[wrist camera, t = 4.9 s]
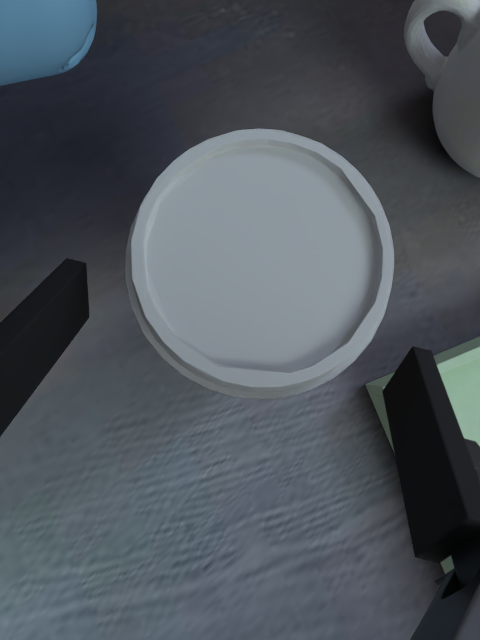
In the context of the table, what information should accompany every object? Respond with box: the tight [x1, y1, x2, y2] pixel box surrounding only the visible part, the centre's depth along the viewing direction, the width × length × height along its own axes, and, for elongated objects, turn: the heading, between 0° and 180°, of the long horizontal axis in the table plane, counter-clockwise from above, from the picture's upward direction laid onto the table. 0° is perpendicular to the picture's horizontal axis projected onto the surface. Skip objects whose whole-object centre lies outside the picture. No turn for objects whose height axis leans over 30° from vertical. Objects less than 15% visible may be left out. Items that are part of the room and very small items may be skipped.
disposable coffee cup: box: [125, 129, 394, 399], centre depth 18 cm, size 10×10×12 cm
